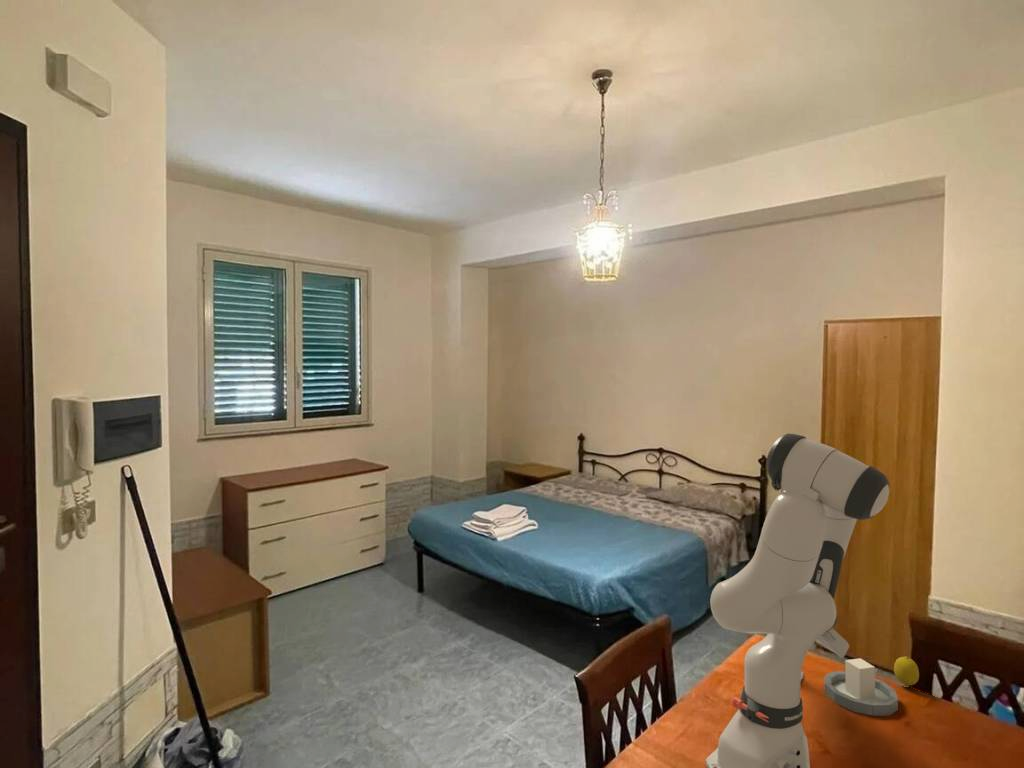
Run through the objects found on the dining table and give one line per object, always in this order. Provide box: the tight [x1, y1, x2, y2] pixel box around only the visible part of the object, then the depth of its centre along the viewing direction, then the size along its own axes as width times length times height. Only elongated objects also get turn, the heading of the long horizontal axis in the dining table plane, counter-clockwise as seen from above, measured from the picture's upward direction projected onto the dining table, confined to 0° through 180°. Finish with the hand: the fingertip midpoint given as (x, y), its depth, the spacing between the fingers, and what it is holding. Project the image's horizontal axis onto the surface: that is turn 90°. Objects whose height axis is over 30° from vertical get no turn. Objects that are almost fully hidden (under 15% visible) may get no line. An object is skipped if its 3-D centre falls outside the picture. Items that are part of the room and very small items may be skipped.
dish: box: [823, 670, 899, 717], centre depth 146 cm, size 16×16×3 cm
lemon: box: [893, 656, 920, 687], centre depth 151 cm, size 6×6×8 cm
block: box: [844, 657, 876, 700], centre depth 146 cm, size 5×5×8 cm
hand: (827, 646), depth 145 cm, fingers open, 8 cm apart
